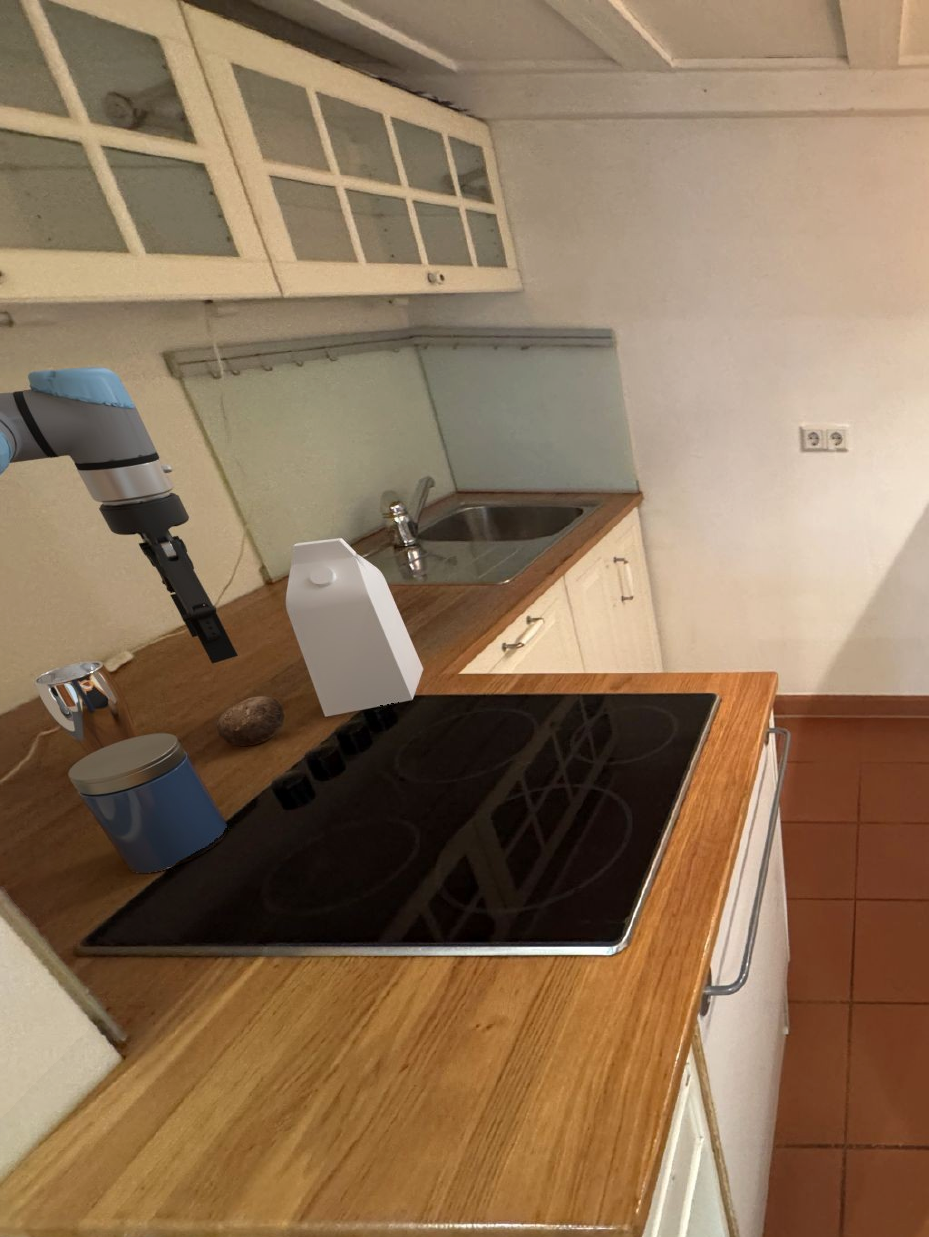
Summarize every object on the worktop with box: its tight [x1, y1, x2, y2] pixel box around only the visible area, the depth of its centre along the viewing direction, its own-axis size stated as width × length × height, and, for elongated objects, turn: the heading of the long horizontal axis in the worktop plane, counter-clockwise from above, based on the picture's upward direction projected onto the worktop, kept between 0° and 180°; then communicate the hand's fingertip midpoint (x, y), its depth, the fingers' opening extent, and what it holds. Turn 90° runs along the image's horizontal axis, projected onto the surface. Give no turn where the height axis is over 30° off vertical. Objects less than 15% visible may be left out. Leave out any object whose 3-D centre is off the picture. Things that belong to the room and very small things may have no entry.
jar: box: [77, 750, 228, 874], centre depth 80 cm, size 9×9×13 cm
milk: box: [285, 537, 424, 718], centre depth 110 cm, size 12×12×26 cm
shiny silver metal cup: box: [32, 660, 139, 756], centre depth 95 cm, size 7×7×15 cm
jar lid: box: [67, 732, 186, 795], centre depth 78 cm, size 9×9×2 cm
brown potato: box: [216, 695, 285, 747], centre depth 103 cm, size 8×8×6 cm
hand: (214, 645), depth 98 cm, fingers open, 13 cm apart
